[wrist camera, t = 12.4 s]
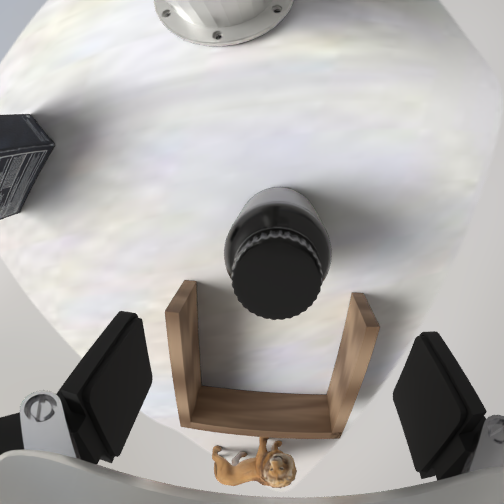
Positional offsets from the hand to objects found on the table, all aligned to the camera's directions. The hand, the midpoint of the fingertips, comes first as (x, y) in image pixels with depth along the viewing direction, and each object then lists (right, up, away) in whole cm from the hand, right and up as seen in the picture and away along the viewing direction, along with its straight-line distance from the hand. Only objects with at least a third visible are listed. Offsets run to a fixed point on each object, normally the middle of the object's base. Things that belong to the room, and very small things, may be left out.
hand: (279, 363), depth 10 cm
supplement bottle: (+1, +6, +18) cm, 19 cm away
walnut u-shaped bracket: (+1, -6, +22) cm, 23 cm away
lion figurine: (-1, -23, +29) cm, 37 cm away
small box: (-27, +14, +17) cm, 35 cm away
